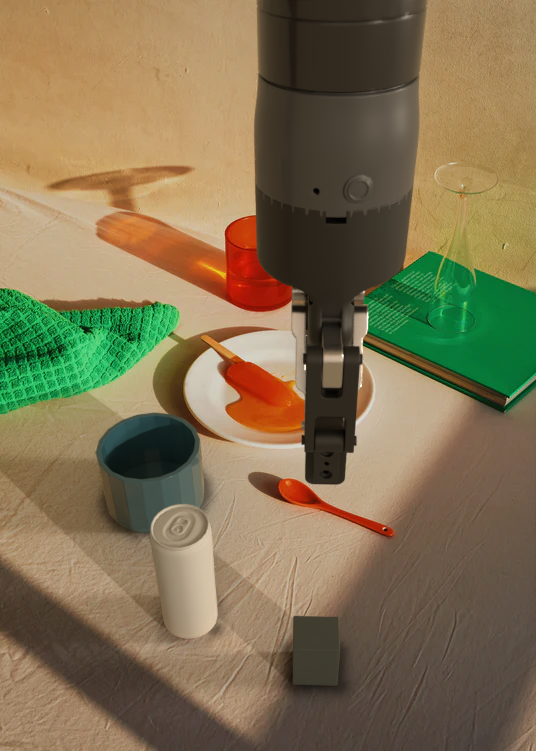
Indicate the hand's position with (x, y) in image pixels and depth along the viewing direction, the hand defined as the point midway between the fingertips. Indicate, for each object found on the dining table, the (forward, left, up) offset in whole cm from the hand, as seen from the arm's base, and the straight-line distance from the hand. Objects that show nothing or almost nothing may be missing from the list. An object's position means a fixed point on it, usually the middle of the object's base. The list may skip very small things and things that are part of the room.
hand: (323, 429), depth 45 cm
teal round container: (0, +25, -26) cm, 36 cm away
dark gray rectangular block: (0, 0, -26) cm, 26 cm away
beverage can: (-5, +10, -26) cm, 29 cm away
